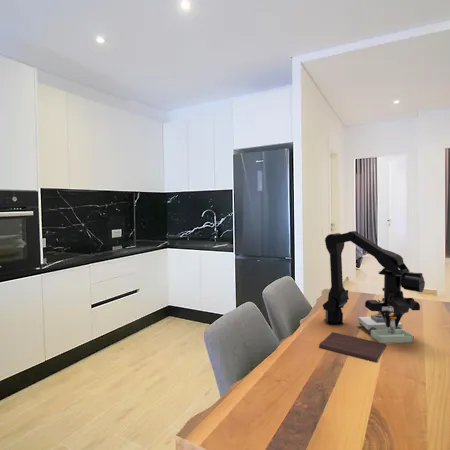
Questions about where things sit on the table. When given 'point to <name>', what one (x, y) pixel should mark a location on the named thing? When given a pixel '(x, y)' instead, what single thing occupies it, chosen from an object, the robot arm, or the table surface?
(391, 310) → the game die
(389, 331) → the pin
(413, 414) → the table surface
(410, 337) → the tray
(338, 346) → the notebook
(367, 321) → the white socket plate
